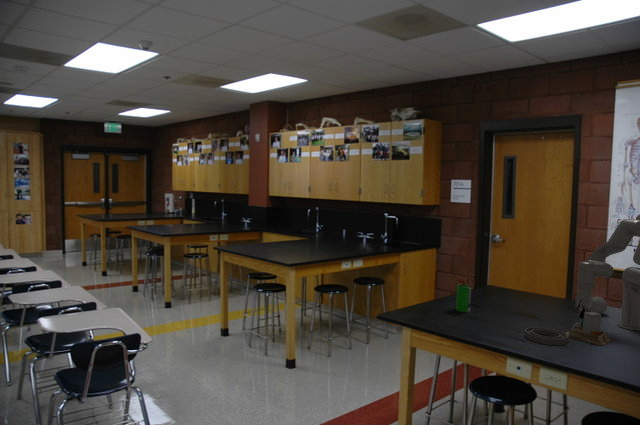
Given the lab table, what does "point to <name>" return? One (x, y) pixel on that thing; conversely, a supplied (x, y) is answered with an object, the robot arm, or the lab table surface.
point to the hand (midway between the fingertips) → (583, 321)
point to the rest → (588, 336)
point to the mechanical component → (537, 333)
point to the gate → (578, 324)
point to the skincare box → (592, 323)
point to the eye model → (598, 305)
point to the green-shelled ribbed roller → (463, 297)
